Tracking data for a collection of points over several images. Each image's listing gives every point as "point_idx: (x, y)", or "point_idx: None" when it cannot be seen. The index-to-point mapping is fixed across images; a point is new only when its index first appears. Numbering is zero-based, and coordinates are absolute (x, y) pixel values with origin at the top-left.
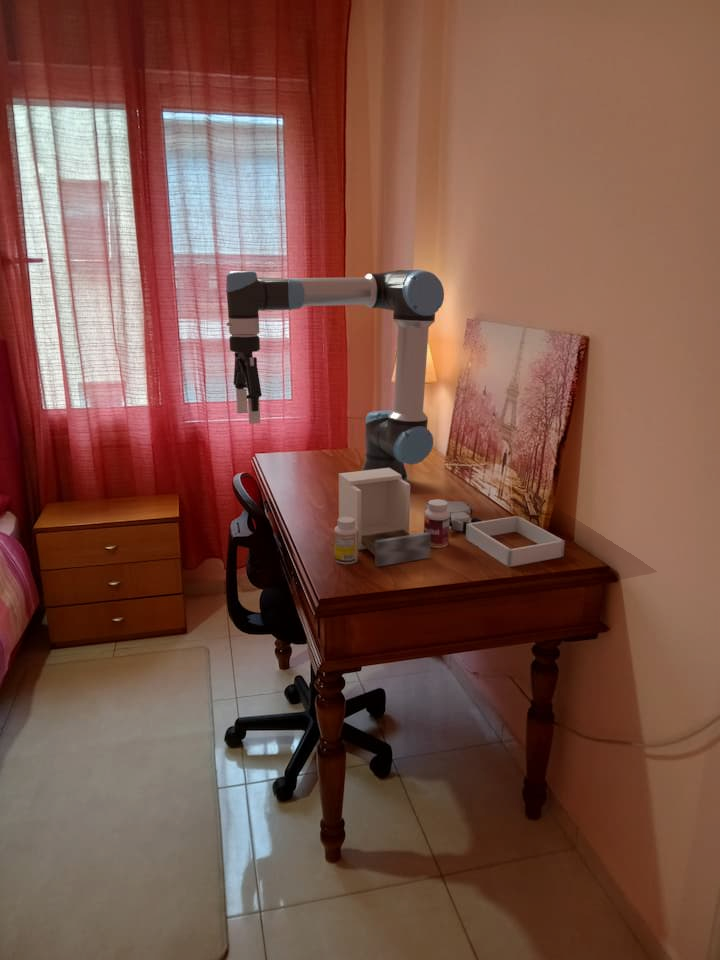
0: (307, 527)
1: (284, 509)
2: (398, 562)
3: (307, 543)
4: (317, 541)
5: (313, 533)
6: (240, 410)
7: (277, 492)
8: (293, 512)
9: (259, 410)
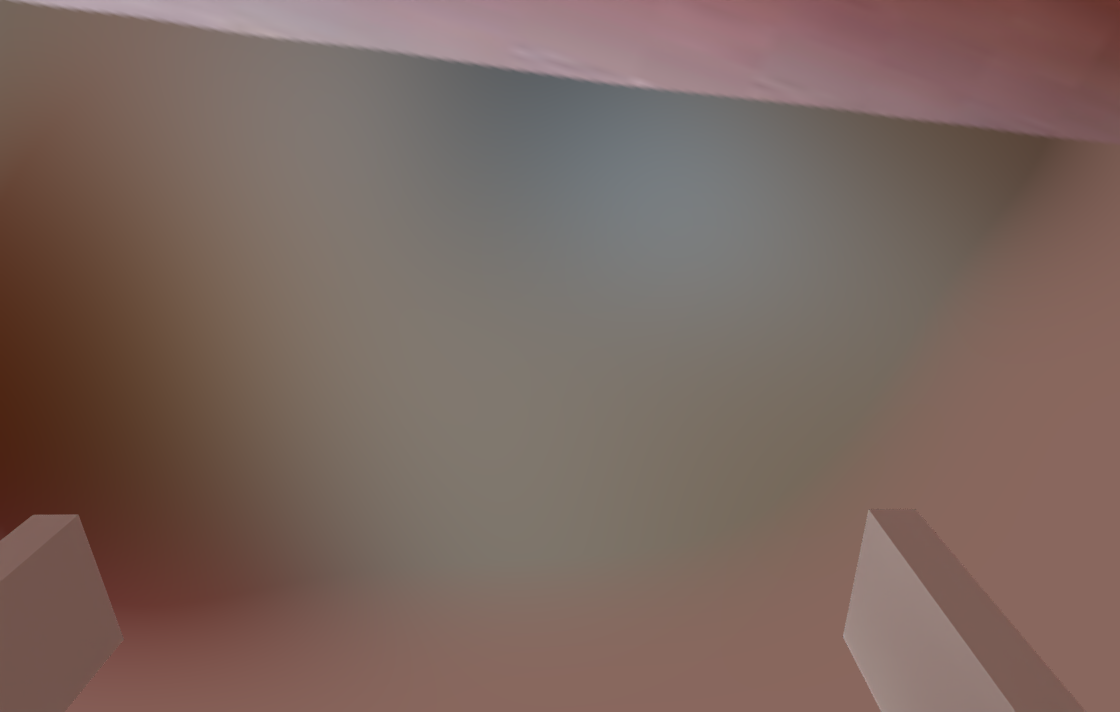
0: (780, 7)
1: (471, 50)
2: None
3: (973, 77)
4: (979, 18)
5: (872, 3)
6: (79, 643)
7: (164, 5)
8: (534, 13)
9: (1064, 689)
